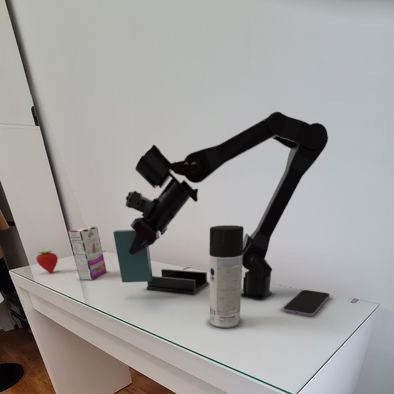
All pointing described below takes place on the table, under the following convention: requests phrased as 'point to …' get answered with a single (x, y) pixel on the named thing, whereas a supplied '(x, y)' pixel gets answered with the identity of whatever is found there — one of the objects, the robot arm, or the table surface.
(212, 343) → the table surface
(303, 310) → the smartphone
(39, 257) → the strawberry
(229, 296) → the spray can
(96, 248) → the candy bar box
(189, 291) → the black rack
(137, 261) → the book
